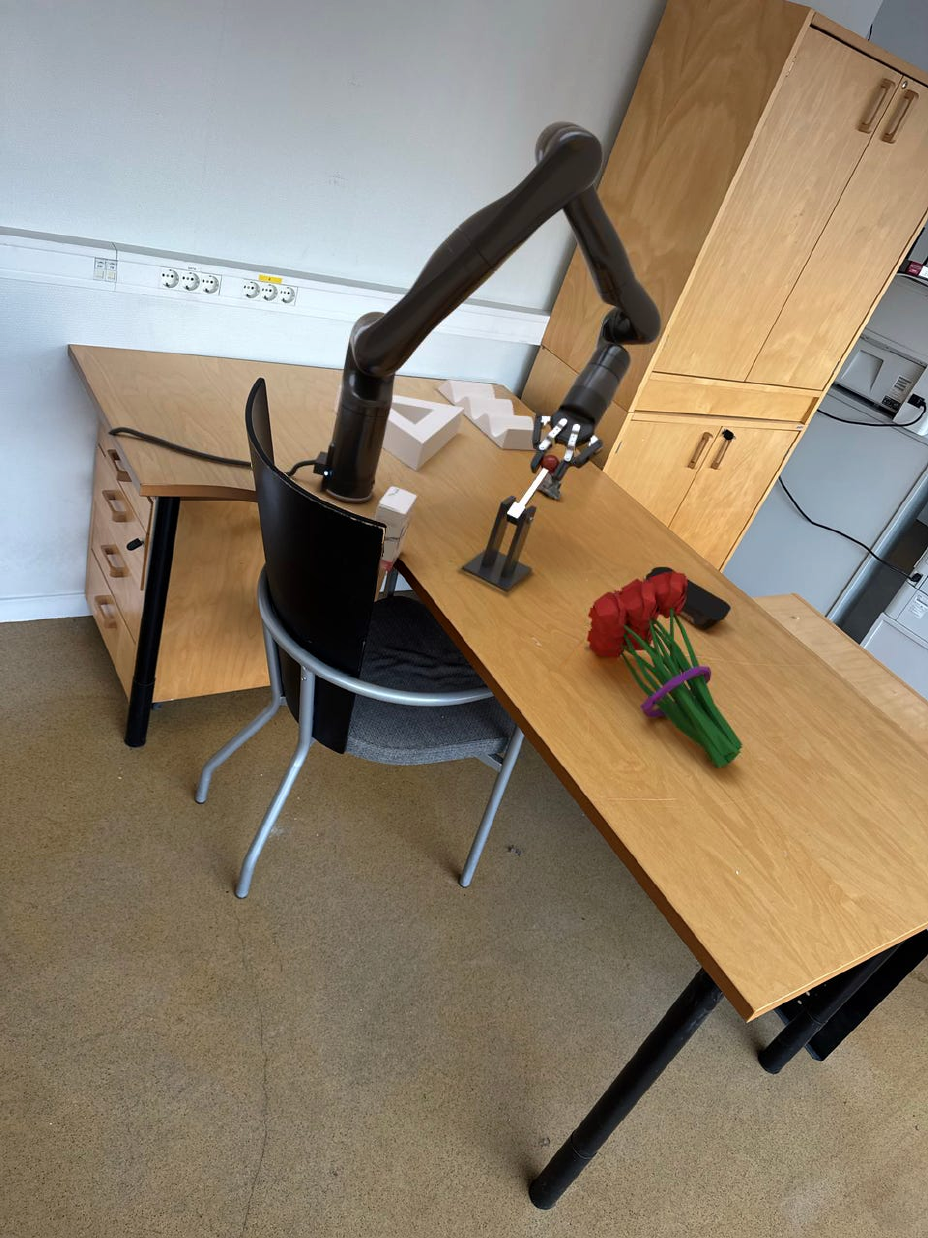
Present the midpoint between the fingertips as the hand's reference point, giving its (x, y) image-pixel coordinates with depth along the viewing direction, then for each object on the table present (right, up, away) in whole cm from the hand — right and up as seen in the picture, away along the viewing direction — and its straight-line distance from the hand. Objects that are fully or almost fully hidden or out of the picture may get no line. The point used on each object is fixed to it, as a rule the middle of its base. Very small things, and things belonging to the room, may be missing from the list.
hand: (543, 475), depth 147 cm
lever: (-2, -3, 0) cm, 4 cm away
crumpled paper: (+4, +3, +39) cm, 40 cm away
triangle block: (-25, +17, +46) cm, 55 cm away
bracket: (-8, -17, +3) cm, 19 cm away
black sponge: (+27, -23, +11) cm, 37 cm away
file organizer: (-7, +26, +70) cm, 75 cm away
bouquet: (+15, -38, -18) cm, 45 cm away
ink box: (-28, -15, -4) cm, 32 cm away
